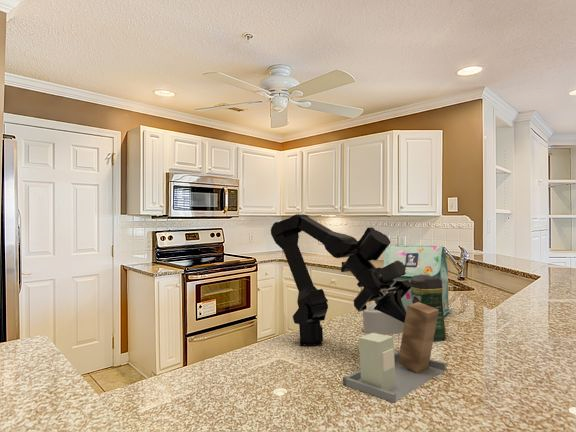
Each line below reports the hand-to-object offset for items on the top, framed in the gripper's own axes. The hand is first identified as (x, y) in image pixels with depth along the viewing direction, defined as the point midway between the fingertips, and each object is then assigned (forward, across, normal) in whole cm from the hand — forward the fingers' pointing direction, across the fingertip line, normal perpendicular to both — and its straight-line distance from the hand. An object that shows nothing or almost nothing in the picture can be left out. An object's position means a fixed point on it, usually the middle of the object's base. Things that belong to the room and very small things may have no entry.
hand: (407, 322), depth 84 cm
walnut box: (+7, 0, +6) cm, 10 cm away
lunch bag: (-12, +55, +27) cm, 62 cm away
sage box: (+8, -14, +7) cm, 17 cm away
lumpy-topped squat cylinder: (-9, +25, +25) cm, 36 cm away
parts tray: (+8, -7, +7) cm, 13 cm away
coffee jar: (+1, +27, +14) cm, 31 cm away
